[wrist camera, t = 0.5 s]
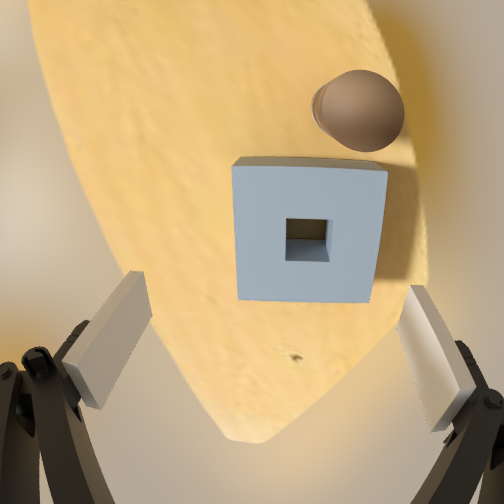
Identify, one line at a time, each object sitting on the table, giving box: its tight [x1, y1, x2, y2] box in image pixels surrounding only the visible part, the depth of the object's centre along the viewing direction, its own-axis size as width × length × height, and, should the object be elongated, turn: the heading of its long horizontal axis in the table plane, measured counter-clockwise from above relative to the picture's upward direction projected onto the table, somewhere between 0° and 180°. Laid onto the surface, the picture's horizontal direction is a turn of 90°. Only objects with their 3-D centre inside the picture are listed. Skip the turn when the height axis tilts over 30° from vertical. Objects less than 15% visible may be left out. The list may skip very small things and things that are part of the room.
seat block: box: [232, 157, 388, 303], centre depth 36 cm, size 16×16×6 cm
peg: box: [311, 70, 404, 152], centre depth 26 cm, size 6×6×15 cm
